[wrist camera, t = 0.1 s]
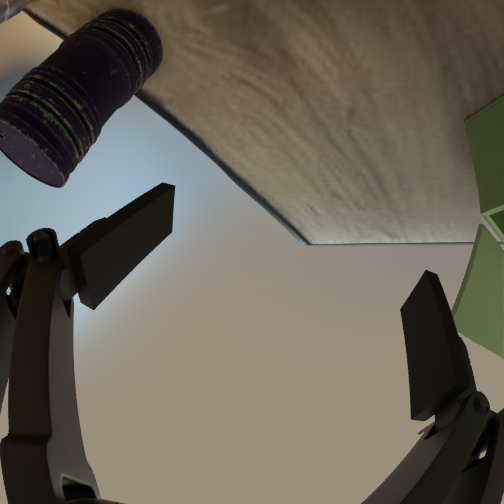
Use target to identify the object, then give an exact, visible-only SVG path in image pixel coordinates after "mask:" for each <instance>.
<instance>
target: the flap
mask: <svg viewBox="0 0 504 504" xmlns="http://www.w3.org/2000/svg"><path fill="white" fill-rule="evenodd" d="M451 313H452V316H453V319H454V322H455V325H456V329H457V332H458V334H460V335H462V336H464V337H465V338H467V339H469V340H471V341H473V342H474V343H476V344H478V345H479V346H481V347H483V348H485V349H486V350H488V351H490V352H492V353H493V354H495V355H497V356H499V357H500V358H502V359H504V250H503V249H502V247H501V246H500V245H499V243H498V242H497V241H496V239H495V238H494V237H493V236H492V234H491V233H490V232H489V230H488V229H487V228H486V227H485V225H484V224H479V227H478V231H477V235H476V239H475V242H474V246H473V250H472V253H471V257H470V260H469V264H468V267H467V270H466V273H465V276H464V279H463V282H462V285H461V287H460V290H459V293H458V295H457V298H456V301H455V303H454V306H453V308H452V311H451Z"/></svg>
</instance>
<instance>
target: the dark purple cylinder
mask: <svg viewBox="0 0 504 504" xmlns="http://www.w3.org/2000/svg"><path fill="white" fill-rule="evenodd" d="M161 60H162V45H161V41H160V38H159V36H158V34H157V32H156V30H155V29H154V28H153V26H152V25H151V24H150V23H149V22H148V21H147V20H146V19H145V18H143V17H142V16H141V15H139V14H137V13H135V12H132V11H130V10H125V9H114V10H110V11H107V12H105V13H103V14H102V15H100V16H98V17H97V18H96V19H94V20H93V21H91V22H89V23H86V24H85V25H84V26H82V27H81V28H79V29H78V30H77V31H75V32H74V33H72V34H71V35H69V36H68V37H67V38H66V39H65V40H64V41H63V42H62V43H61V44H60V46H59V48H58V49H57V50H56V51H55V52H54V53H53V54H51V55H50V56H49V57H48V58H47V59H46V60H45V61H44V62H42V64H40V65H39V66H38V67H35V68H33V69H31V70H30V71H29V72H27V73H26V74H25V75H24V76H23V78H22V79H21V80H20V81H19V82H18V83H17V84H16V85H15V86H14V87H13V88H12V89H11V90H10V91H9V92H8V93H7V94H6V97H5V98H4V100H3V101H2V102H1V103H0V150H1V152H3V154H4V155H5V156H6V157H7V158H8V159H9V160H11V161H12V162H13V163H14V164H15V165H17V166H18V167H19V168H20V169H22V170H23V171H24V172H26V173H27V174H28V175H30V176H32V177H33V178H35V179H37V180H38V181H40V182H42V183H44V184H46V185H49V186H52V187H56V188H61V187H63V186H64V185H65V183H66V182H67V180H68V178H69V174H70V173H72V172H73V171H74V169H75V168H76V166H77V164H78V163H80V162H81V161H82V159H83V158H84V156H85V155H86V153H87V152H88V150H89V149H90V147H91V145H92V144H93V143H95V142H96V140H97V138H98V136H99V134H100V133H101V128H102V127H103V125H104V124H105V123H106V122H107V120H108V119H109V118H110V117H111V115H112V114H113V113H114V112H115V111H116V110H117V109H118V108H120V107H122V106H123V105H125V103H127V102H128V101H129V100H130V99H131V98H132V96H133V95H134V94H135V93H136V92H137V91H138V90H139V89H140V88H141V87H142V86H143V84H144V83H145V81H146V80H147V79H148V78H149V77H150V76H151V75H152V74H153V73H154V72H155V71H156V70H157V69H158V67H159V65H160V63H161Z"/></svg>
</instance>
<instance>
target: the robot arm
mask: <svg viewBox="0 0 504 504" xmlns="http://www.w3.org/2000/svg"><path fill="white" fill-rule="evenodd" d="M174 195H175V186H174V185H170V184H167V183H161V184H159V185H157V186H156V187H154V188H153V189H151V190H149V191H148V192H146V193H144V194H143V195H141V196H140V197H138V198H136V199H135V200H134V201H132V202H130V203H129V204H127V205H126V206H124V207H123V208H121V209H120V210H118V211H117V212H115V213H114V214H112V215H111V216H109V217H108V218H105V217H104V218H102V219H99V220H96V221H94V222H92V223H91V224H89V225H88V226H87V227H86V228H84V229H82V230H81V231H80V233H77V234H75V235H74V236H73V237H71V238H70V239H69V240H67V241H66V242H65V243H63V244H62V245H61V246H59V244H58V240H57V235H56V232H55V231H54V230H53V229H50V228H42V229H38V230H36V231H34V232H32V233H31V234H30V235H29V236H28V237H27V239H26V241H27V245H28V249H29V252H30V253H28V252H24V249H23V246H22V243H21V242H20V241H17V240H14V241H9V242H6V243H5V244H4V245H2V246H1V247H0V413H1V408H2V403H3V398H4V394H5V390H6V386H7V382H8V379H9V391H8V418H9V433H8V436H6V437H4V438H3V439H2V440H1V443H0V458H1V467H2V474H3V480H4V485H5V490H6V495H7V500H8V504H124V503H119V502H114V501H109V500H104V499H103V500H102V499H101V496H100V493H99V490H98V486H97V483H96V479H95V476H94V473H93V471H92V469H91V467H90V465H89V464H88V462H87V459H86V456H85V452H84V446H83V442H82V435H81V429H80V423H79V416H78V408H77V399H76V389H75V377H74V356H73V316H74V301H73V296H74V295H75V294H76V293H77V292H78V295H79V298H80V302H81V303H83V304H84V305H86V306H87V307H89V308H91V309H93V310H95V309H96V307H97V306H98V305H99V304H100V303H101V302H102V301H103V300H104V299H105V298H106V297H107V296H108V295H109V294H110V293H111V292H112V291H113V290H114V288H115V287H116V286H117V285H118V284H119V283H120V282H121V281H122V280H123V279H124V278H125V277H126V276H127V275H128V274H129V273H130V272H131V271H132V270H133V269H134V268H135V267H136V266H137V265H138V264H139V263H140V262H141V261H142V260H143V259H144V258H145V257H146V256H147V255H148V254H149V253H150V252H151V251H153V250H154V249H155V248H156V246H158V245H159V244H160V243H161V242H162V241H163V240H164V239H165V238H166V237H167V236H168V235H169V234H171V233H172V224H173V207H174ZM8 287H9V288H10V290H11V292H10V294H9V295H7V293H6V291H7V289H8ZM400 311H401V317H402V323H403V330H404V337H405V345H406V353H407V363H408V374H409V386H410V405H411V419H412V420H418V421H426V420H427V419H429V418H430V417H432V416H433V415H434V414H435V422H433V423H432V424H430V425H429V426H427V427H426V428H424V429H423V430H421V431H420V432H419V433H418V434H421V433H423V432H424V434H423V435H422V436H421V438H420V439H419V441H418V442H417V443H416V445H415V446H414V447H413V448H412V449H411V451H410V452H409V453H408V454H407V456H406V457H405V458H404V460H402V462H401V463H400V464H399V465H398V466H397V468H396V469H395V470H394V471H393V472H392V473H391V474H390V475H389V476H388V478H386V480H385V481H384V482H383V483H382V484H381V485H380V486H379V487H378V488H377V489H376V490H375V491H374V492H373V493H372V494H371V495H370V496H369V497H368V498H367V499H366V500H365V501H363V502H362V503H361V504H500V503H501V500H502V496H503V493H504V408H503V409H502V410H501V411H500V412H498V413H496V412H494V411H492V410H490V405H489V402H488V399H487V398H486V396H485V395H484V394H483V393H482V392H479V391H477V389H476V384H475V380H474V376H473V371H472V367H471V365H470V359H469V358H468V356H469V355H468V351H467V348H466V345H465V344H464V342H463V340H462V338H461V337H459V335H458V332H457V329H456V325H455V322H454V319H453V316H452V313H451V310H450V307H449V304H448V301H447V299H446V296H445V293H444V291H443V288H442V285H441V283H440V280H439V278H438V275H437V274H435V273H433V272H430V271H428V270H425V272H424V274H423V275H422V277H421V278H420V280H419V282H418V283H417V285H416V286H415V288H414V290H413V291H412V293H411V294H410V296H409V297H408V299H407V300H406V302H405V303H404V305H403V306H402V307H401V309H400ZM484 451H486V455H485V456H484V457H483V458H481V459H479V456H480V453H482V452H484Z"/></svg>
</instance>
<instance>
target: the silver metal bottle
mask: <svg viewBox="0 0 504 504" xmlns="http://www.w3.org/2000/svg"><path fill="white" fill-rule="evenodd" d="M30 1H31V0H0V24H1V23H3V22H5V21H7V20H8V19H10V18H12V17H13V16H15V15H17V14H18V13H20V12H21V11H22V10H23V9H24V8H25V7H26V6H27V5H28V4H29V3H30Z"/></svg>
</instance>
